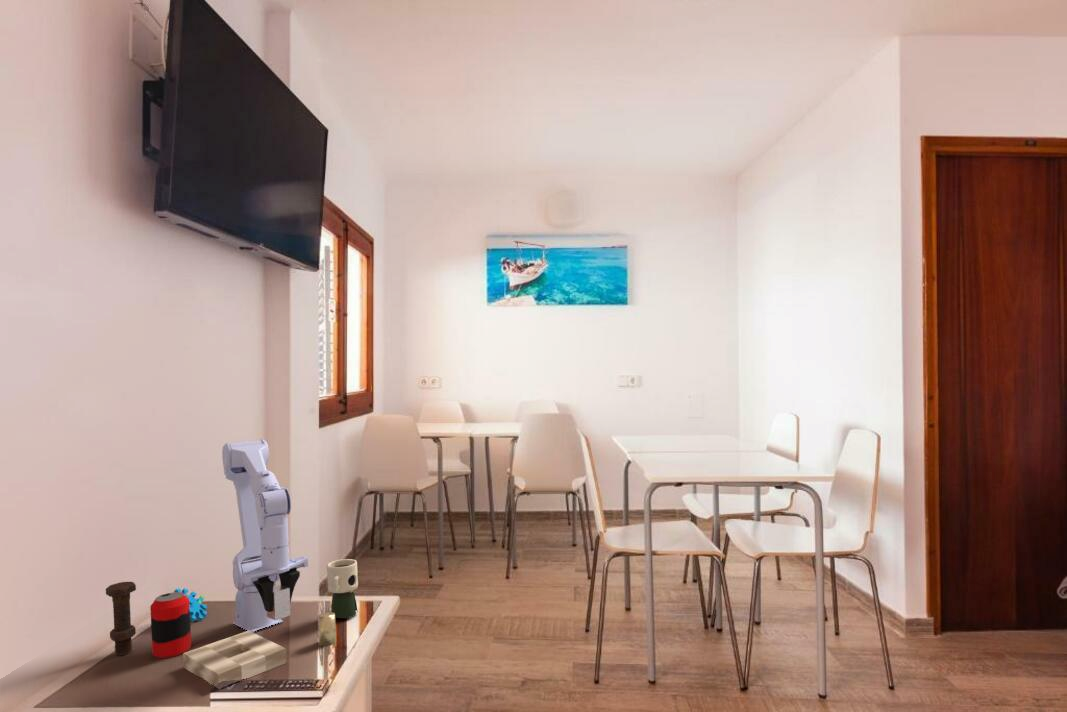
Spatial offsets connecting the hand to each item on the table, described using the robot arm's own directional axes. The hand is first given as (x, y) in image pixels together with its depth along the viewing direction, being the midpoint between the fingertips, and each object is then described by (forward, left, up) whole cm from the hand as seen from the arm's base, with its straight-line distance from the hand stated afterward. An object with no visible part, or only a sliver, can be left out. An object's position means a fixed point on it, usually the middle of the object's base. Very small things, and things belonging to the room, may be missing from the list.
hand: (277, 607), depth 149 cm
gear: (-36, -4, -9) cm, 37 cm away
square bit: (0, 0, -2) cm, 2 cm away
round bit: (+6, +8, -9) cm, 14 cm away
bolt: (-27, -22, -9) cm, 36 cm away
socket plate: (0, -10, -9) cm, 13 cm away
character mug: (-4, +19, -9) cm, 22 cm away
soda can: (-19, -15, -9) cm, 26 cm away
